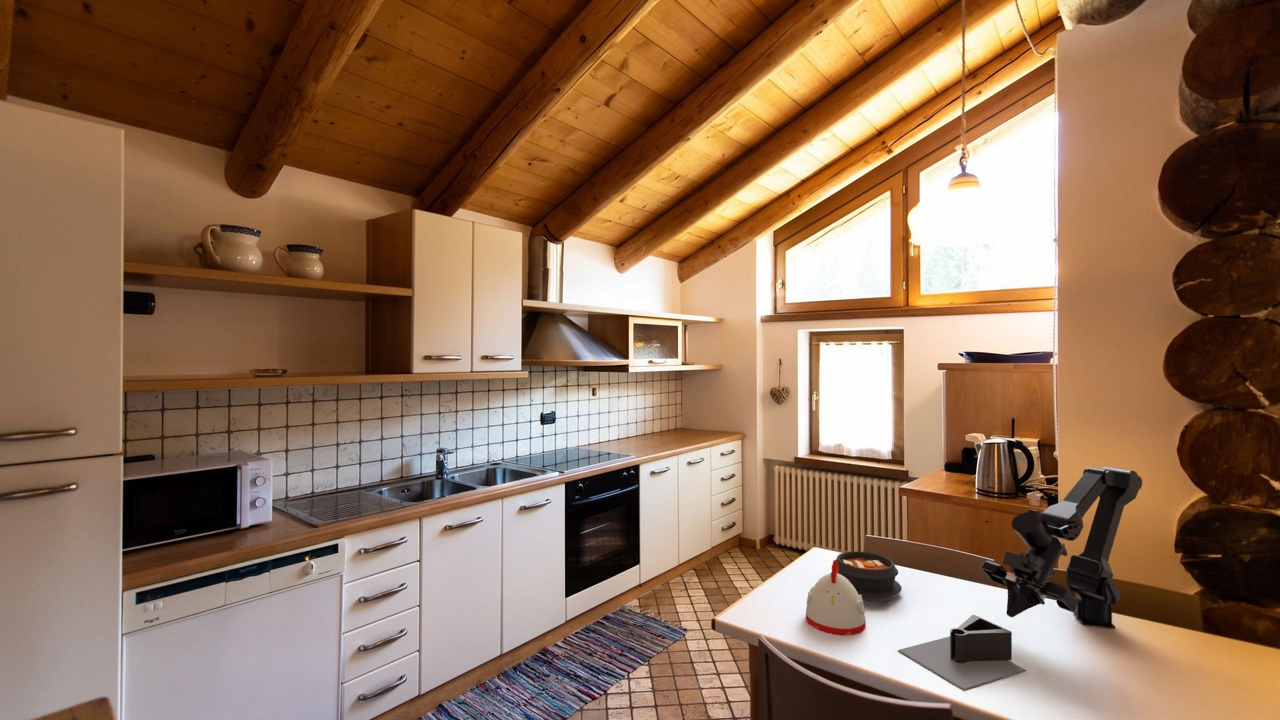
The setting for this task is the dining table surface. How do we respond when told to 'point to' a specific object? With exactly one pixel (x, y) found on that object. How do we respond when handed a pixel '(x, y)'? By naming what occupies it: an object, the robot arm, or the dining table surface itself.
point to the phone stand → (980, 641)
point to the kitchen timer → (835, 605)
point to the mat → (958, 665)
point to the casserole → (870, 575)
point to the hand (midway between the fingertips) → (1009, 615)
